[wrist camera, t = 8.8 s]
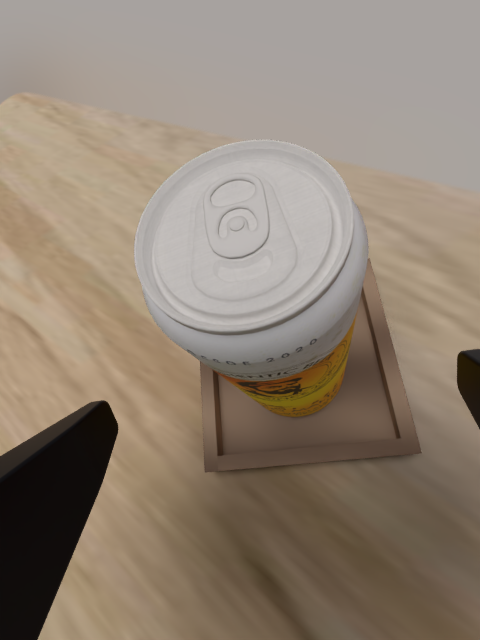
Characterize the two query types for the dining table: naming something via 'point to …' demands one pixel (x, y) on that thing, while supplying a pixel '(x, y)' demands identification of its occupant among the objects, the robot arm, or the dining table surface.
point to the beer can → (257, 269)
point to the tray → (326, 424)
